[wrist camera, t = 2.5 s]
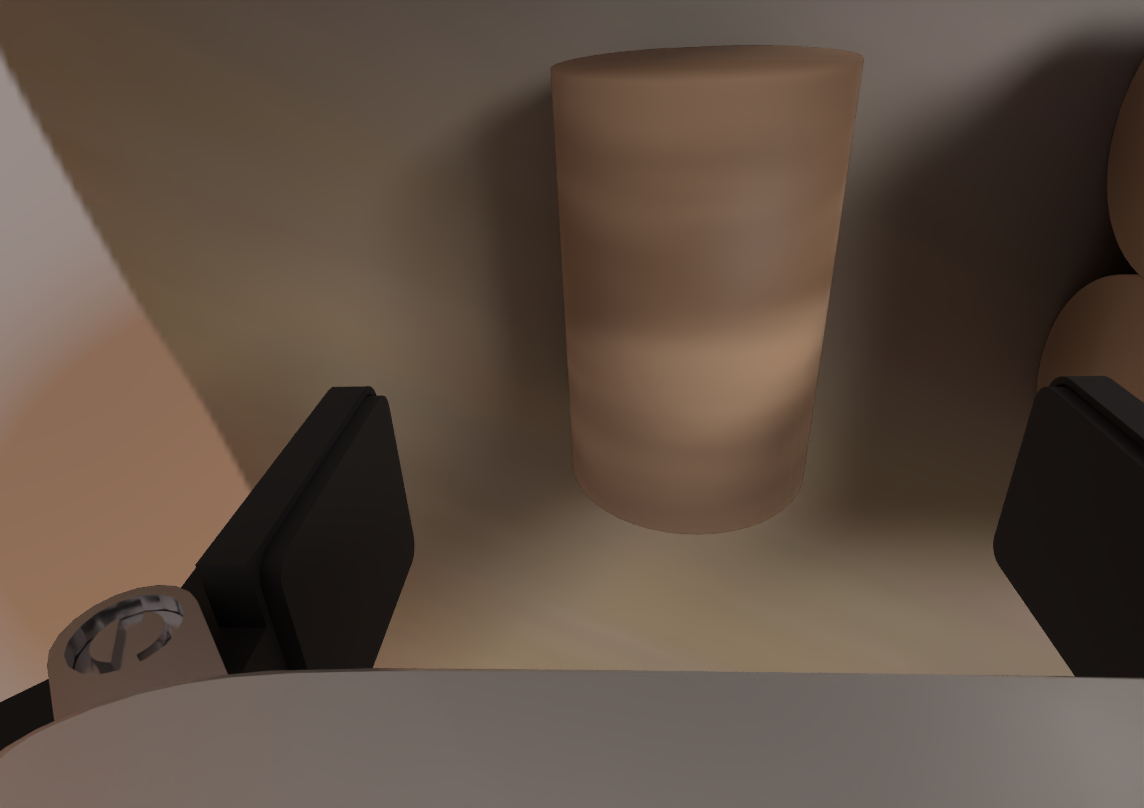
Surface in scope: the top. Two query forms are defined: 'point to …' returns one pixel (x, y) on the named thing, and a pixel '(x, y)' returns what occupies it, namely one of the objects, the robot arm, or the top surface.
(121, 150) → the top surface
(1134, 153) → the slab
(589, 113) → the roller
